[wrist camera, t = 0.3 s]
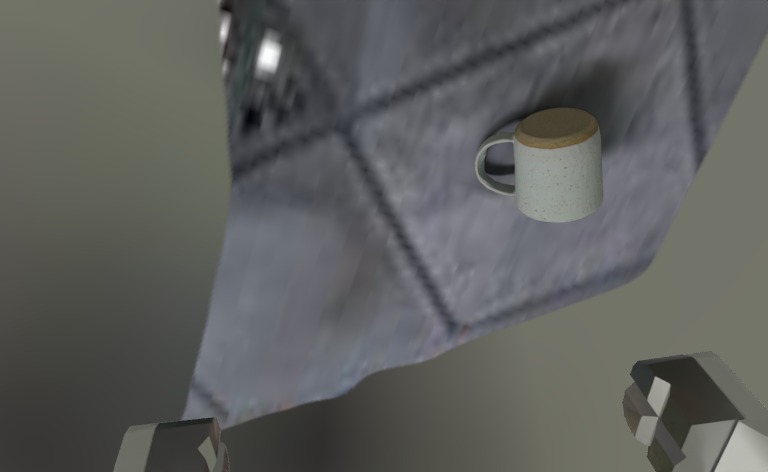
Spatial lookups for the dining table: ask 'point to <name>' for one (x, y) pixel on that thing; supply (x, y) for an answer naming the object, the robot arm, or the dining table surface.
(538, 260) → the dining table surface
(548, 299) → the dining table surface
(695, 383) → the robot arm
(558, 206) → the ceramic mug
